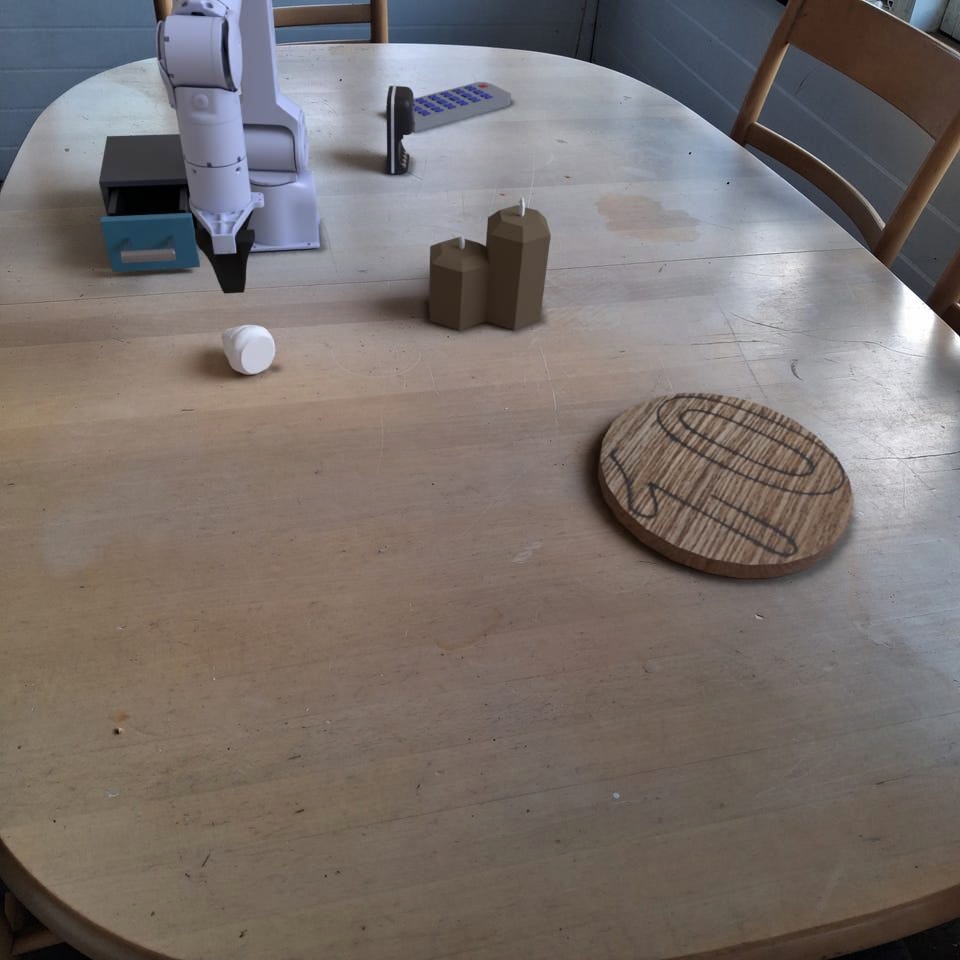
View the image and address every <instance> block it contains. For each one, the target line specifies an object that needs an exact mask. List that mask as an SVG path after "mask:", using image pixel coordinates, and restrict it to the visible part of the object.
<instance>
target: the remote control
mask: <svg viewBox="0 0 960 960" xmlns="http://www.w3.org/2000/svg"><path fill="white" fill-rule="evenodd" d="M511 98H512V93H511V92H508V91H507V90H505V89H503V88H501V87H499V86H498V85H497V86H496V85H495V84H493V83H490V82H486V81H478V82H473V83H469V84H466V85H462V86H461V85H460V86H458V87H453V88H449V89H446V90H440V91H437V92H434V93H430V94H426V95H422V96H419V97H414V123H413V131H412V132H414V133H417V132H420V131H423V130H428V129H431V128H434V127H437V126H442V125H445V124H448V123H453V122H456V121H460V120H464V119H466V118H470V117H473V116H477V115H478V116H479V115H481V114H484V113H488V112H492V111H495V110H499V109H502V108H505V107H508V106H509V105H510V104H511ZM385 113H386V114H385V116H386V117H387V105H386V106H385Z"/></svg>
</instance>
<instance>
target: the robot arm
mask: <svg viewBox="0 0 960 960" xmlns="http://www.w3.org/2000/svg"><path fill="white" fill-rule="evenodd" d="M171 6H172V7H171V11H170V14H168V15H167V16H166V18H165V20H159V21H158V22H157V25H156V29H155V52H156V59H157V65H158V70H159V74H160V77H161V80H162V82H163V83H162V84H164V87H165V91H166V93H167V99H168V105H169V106H170V108H171V109H173V110H175V115H176V120H177V127H178V134H180V139H181V145H182V151H183V156H184V162H185V168H186V174H187V180H188V186H189V192H190V198H189V204H190V209H191V211H192V212H193V214H194V215H195V216H196V217H197V219H198V220H199V221H200V222H201V224H202V225H203V226H204V227H205V228H198V229H195V241H196V243H197V248H198V249H199V250H200V251H201V252H202V253H203V254H204V256H205V257H206V258H207V259H208V261H209V263H210V264H211V267H212V269H213V272H214V274H215V276H216V280H217V282H218V284H219V286H220V289H221V291H222V293H223V294H227V295H228V294H241V293H245V289H246V284H247V283H246V282H247V266H248V259H249V257H250V253H251V252H269V251H271V252H272V251H287V250H289V251H291V250H305V249H306V250H308V249H309V250H310V249H319V248H320V247H321V243H320V233H319V227H320V226H321V220H320V212H319V211H318V203H317V191H316V182H315V173H314V171H313V170H308V167H309V135H308V134H309V133H308V128H307V126H306V118H305V117H306V116H305V112H304V111H303V108H302V106H301V105H300V104H298V103H297V102H295V101H294V100H292V99H290V98H289V97H288V96H287V95H285V94H283V92H281V91H280V78H279V66H278V56H277V55H278V54H277V43H276V31H275V21H274V9H273V8H274V7H273V0H172V4H171ZM239 89H240V90H239ZM239 91H241V92H239Z"/></svg>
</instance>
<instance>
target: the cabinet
mask: <svg viewBox="0 0 960 960" xmlns="http://www.w3.org/2000/svg"><path fill="white" fill-rule="evenodd" d="M98 184H99V189H100V192H101V196H102V197H101V198H102V200H103V206H104V209H105V214H106V217H109V214H108V212H109V205H110V199H111V192H112V187H126V186H152V185H177V184H188V180H187V174H186V168H185V162H184V156H183V151H182V145H181V139H180V133H172V134H171V133H167V134H135V135H107V136H106V139H105V144H104V150H103V157H102V161H101V168H100V173H99V179H98ZM198 228H205V227H204V226H203V225H202V224H201V222H200V221H199V220H198V219H197V217H196V216H195V215H194V231H195V229H198Z"/></svg>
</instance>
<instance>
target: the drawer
mask: <svg viewBox="0 0 960 960" xmlns="http://www.w3.org/2000/svg"><path fill="white" fill-rule="evenodd" d="M189 198H190V192H189V186H188V184H177V185H152V186H126V187H112V192H111V199H110V205H109V212H108V214H109V217H107V216H101V217H100V221H99V223H100V226H101V232H102V236H103V238H104V243H105V247H106V250H107V256H108V259H109V263H110V268H111V270H112V273H120V272H121V273H123V272H137V271H138V272H139V271H140V272H141V271H154V270H155V271H157V270H175V269H193V268H201V261H200V254H199V250H198V249H199V247H198V245H197V243H196V241H195V231H194V214H193V212H192V211H191V209H190V204H189Z"/></svg>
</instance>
